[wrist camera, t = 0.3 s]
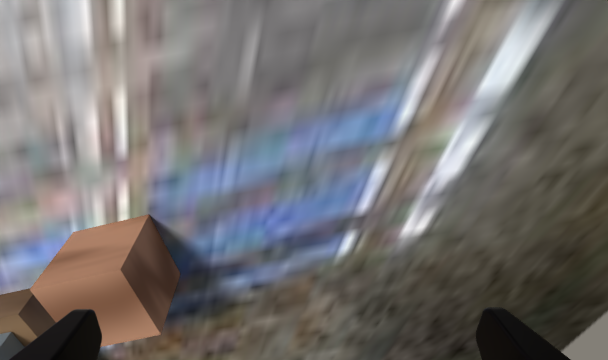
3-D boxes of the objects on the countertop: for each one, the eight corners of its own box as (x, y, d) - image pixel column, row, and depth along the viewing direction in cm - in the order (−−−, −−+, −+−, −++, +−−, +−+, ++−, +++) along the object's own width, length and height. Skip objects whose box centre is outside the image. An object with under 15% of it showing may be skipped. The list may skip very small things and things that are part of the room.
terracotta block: (180, 273, 27) (160, 334, 23) (111, 288, 27) (79, 351, 23) (149, 213, 25) (120, 269, 20) (74, 231, 25) (29, 289, 21)
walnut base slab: (111, 369, 32) (96, 406, 30) (-1, 391, 33) (-26, 429, 31) (43, 280, 28) (17, 314, 25) (-86, 308, 28) (-124, 344, 26)
